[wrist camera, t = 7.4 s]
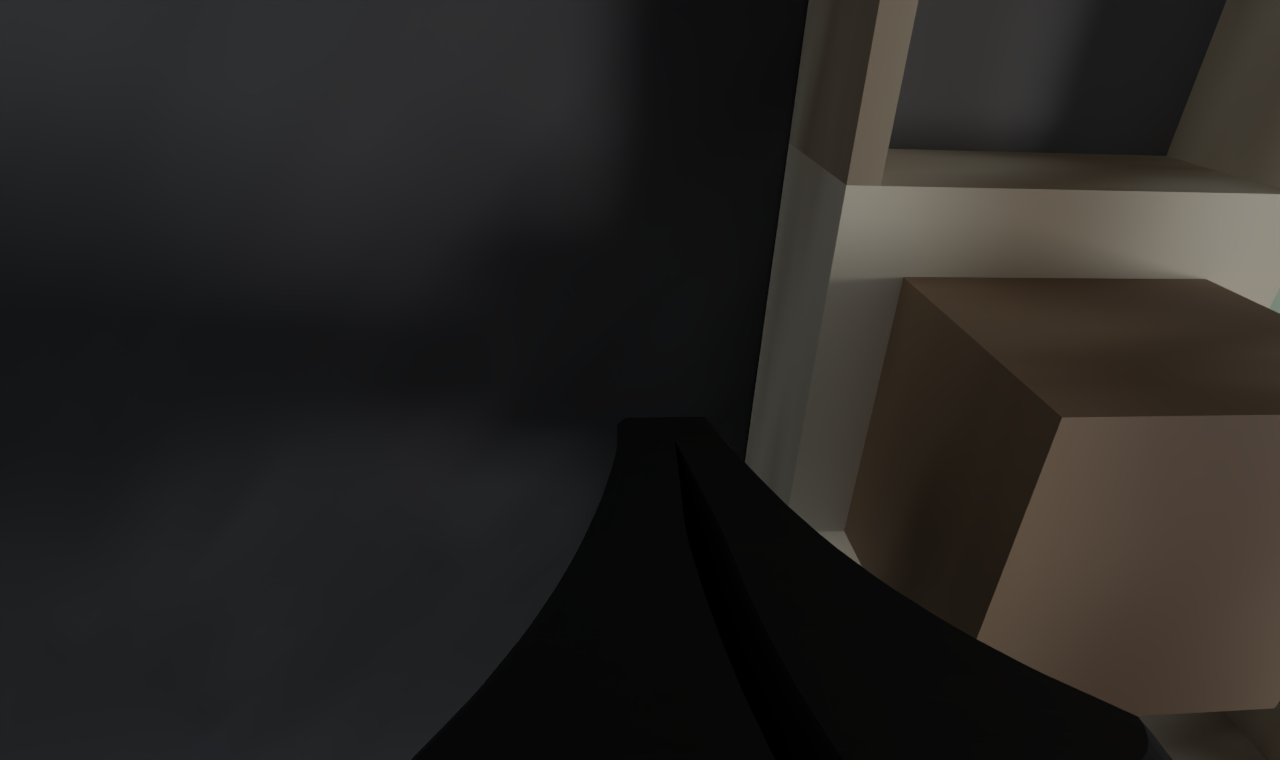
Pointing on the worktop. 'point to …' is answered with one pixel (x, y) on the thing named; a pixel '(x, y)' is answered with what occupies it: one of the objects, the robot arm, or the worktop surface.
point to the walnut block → (1086, 481)
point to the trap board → (1007, 204)
